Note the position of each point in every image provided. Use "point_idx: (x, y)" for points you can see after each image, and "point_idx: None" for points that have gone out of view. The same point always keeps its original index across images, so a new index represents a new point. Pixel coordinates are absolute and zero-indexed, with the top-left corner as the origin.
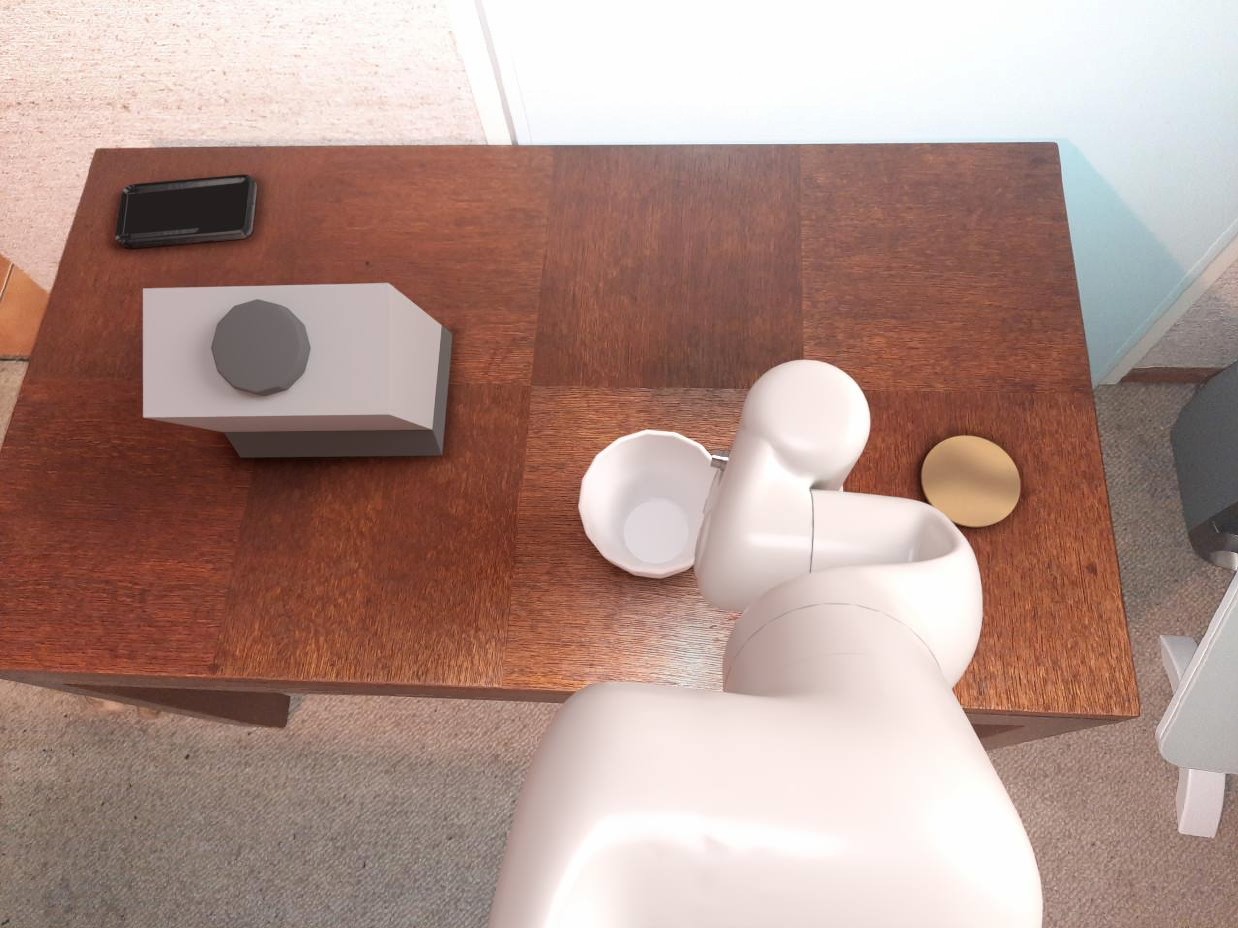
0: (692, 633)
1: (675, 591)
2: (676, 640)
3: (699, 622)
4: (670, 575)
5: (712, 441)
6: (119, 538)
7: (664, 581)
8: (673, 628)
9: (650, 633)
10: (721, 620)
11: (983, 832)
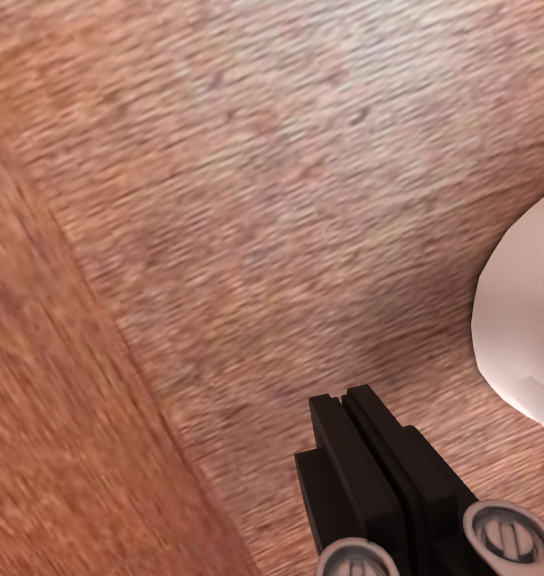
0: (412, 64)
1: (496, 174)
2: (453, 17)
3: (403, 111)
4: (529, 212)
5: None
6: None
7: (532, 189)
8: (472, 55)
9: (535, 6)
10: (342, 148)
11: None
